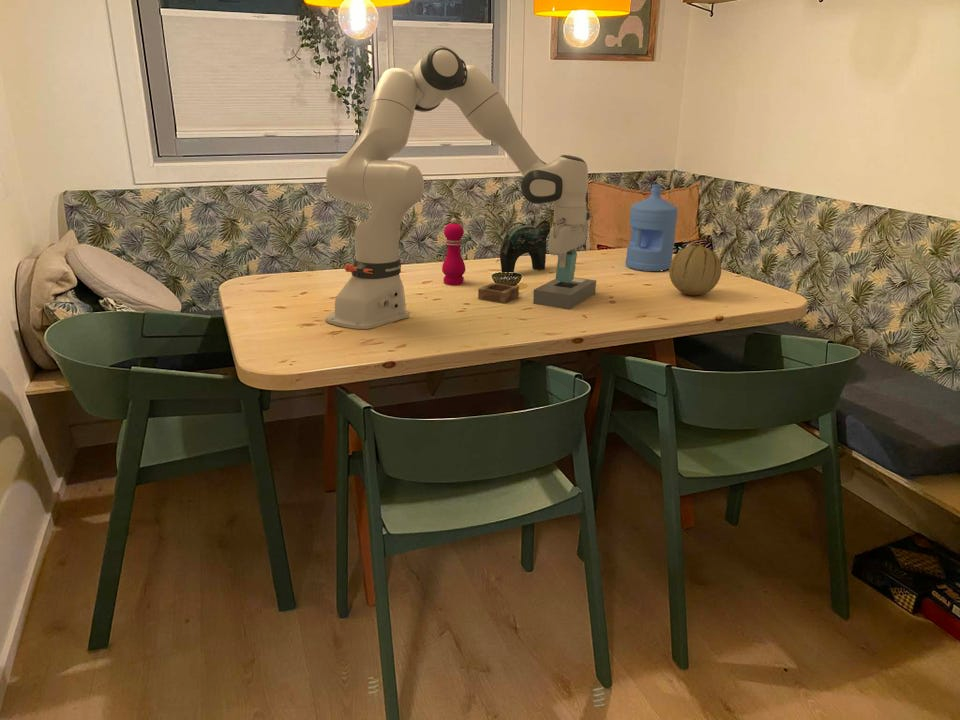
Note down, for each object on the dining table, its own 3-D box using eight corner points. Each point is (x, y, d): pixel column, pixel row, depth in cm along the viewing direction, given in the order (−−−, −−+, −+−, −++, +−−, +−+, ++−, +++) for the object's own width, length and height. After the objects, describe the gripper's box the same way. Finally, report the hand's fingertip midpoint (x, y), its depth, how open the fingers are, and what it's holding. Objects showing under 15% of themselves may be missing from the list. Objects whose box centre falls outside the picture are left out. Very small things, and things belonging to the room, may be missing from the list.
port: (569, 309, 189) (570, 294, 187) (533, 303, 194) (533, 288, 192) (595, 293, 205) (596, 279, 204) (561, 288, 210) (561, 274, 209)
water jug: (646, 260, 250) (654, 181, 240) (680, 269, 238) (690, 186, 228) (615, 265, 242) (622, 183, 232) (649, 274, 230) (658, 188, 220)
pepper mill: (466, 280, 218) (467, 216, 211) (463, 286, 211) (464, 220, 204) (443, 279, 218) (443, 215, 211) (440, 285, 211) (440, 219, 204)
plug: (568, 283, 196) (572, 250, 192) (555, 280, 198) (559, 247, 194) (573, 279, 199) (577, 247, 195) (560, 276, 201) (564, 244, 197)
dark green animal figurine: (539, 266, 239) (541, 207, 232) (552, 269, 234) (555, 210, 227) (496, 274, 227) (497, 212, 220) (509, 278, 222) (511, 215, 215)
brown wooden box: (504, 303, 193) (505, 293, 192) (478, 299, 197) (478, 288, 196) (518, 296, 200) (518, 286, 199) (492, 292, 204) (492, 282, 203)
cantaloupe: (673, 300, 199) (679, 248, 194) (662, 287, 213) (667, 239, 208) (724, 301, 199) (732, 250, 194) (710, 288, 213) (716, 240, 208)
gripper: (565, 222, 182) (562, 274, 187) (592, 212, 199) (589, 259, 204) (543, 220, 185) (541, 271, 190) (572, 210, 201) (569, 257, 206)
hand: (566, 265), depth 197 cm, fingers closed on plug, 4 cm apart
